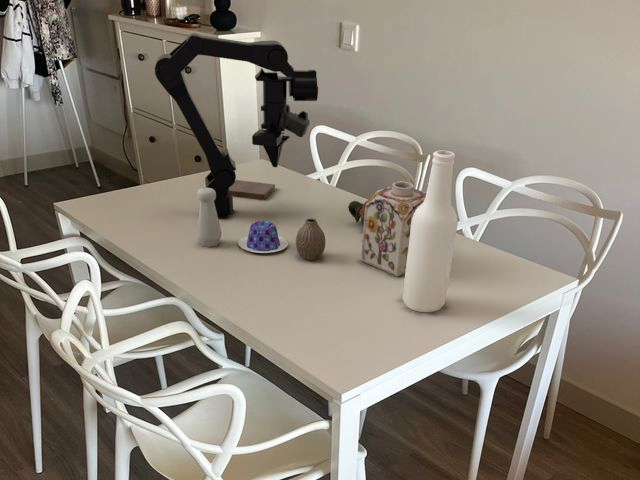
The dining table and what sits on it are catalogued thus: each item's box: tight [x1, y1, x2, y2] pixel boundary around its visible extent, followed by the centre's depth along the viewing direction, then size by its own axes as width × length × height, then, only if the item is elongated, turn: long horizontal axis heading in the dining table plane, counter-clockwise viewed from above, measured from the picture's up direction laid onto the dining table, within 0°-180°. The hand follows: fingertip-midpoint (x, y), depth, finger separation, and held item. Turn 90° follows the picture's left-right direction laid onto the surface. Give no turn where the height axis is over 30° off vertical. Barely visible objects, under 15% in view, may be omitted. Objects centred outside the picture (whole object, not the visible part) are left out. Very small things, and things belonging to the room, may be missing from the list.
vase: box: [295, 218, 326, 261], centre depth 153 cm, size 7×7×9 cm
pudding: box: [237, 220, 289, 254], centre depth 158 cm, size 12×12×5 cm
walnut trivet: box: [229, 179, 276, 201], centre depth 191 cm, size 12×10×2 cm
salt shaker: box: [196, 187, 222, 248], centre depth 156 cm, size 6×6×13 cm
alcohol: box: [401, 149, 459, 313], centre depth 129 cm, size 9×9×30 cm
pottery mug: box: [347, 199, 370, 223], centre depth 170 cm, size 12×10×8 cm
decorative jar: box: [360, 180, 427, 277], centre depth 149 cm, size 12×12×18 cm
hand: (275, 166), depth 171 cm, fingers closed
